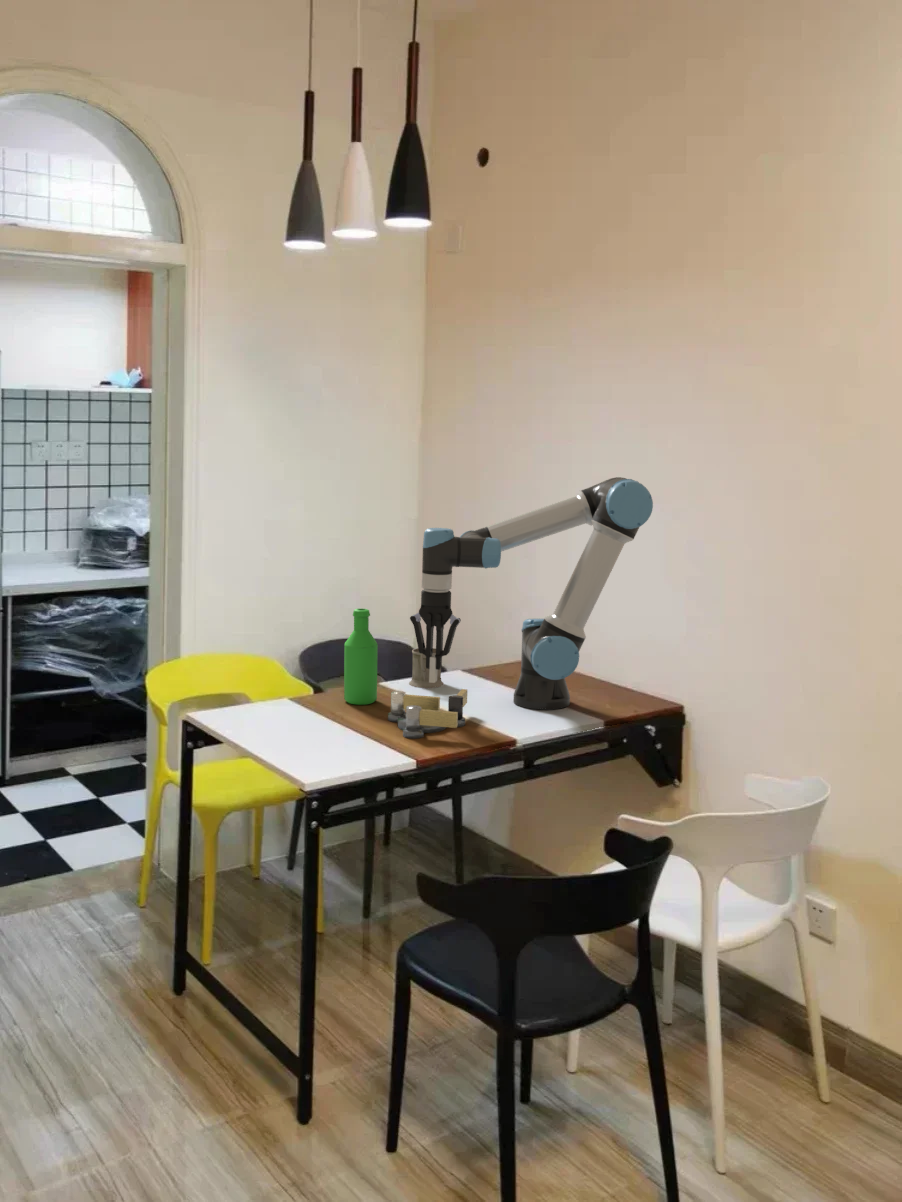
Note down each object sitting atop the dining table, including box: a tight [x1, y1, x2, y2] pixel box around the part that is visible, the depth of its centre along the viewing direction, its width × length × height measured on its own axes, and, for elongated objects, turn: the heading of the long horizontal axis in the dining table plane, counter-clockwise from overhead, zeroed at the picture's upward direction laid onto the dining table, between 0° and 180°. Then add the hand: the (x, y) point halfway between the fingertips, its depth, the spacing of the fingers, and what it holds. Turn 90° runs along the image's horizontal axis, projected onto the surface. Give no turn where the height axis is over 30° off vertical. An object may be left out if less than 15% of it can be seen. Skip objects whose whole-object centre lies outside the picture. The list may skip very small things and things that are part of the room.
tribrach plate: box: [387, 711, 466, 740], centre depth 277 cm, size 20×18×2 cm
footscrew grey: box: [405, 705, 458, 732], centre depth 270 cm, size 12×4×6 cm, turn 77°
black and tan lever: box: [447, 688, 468, 720], centre depth 285 cm, size 12×4×6 cm, turn 167°
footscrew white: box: [390, 690, 441, 716], centre depth 283 cm, size 12×4×6 cm, turn 77°
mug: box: [408, 646, 444, 689], centre depth 320 cm, size 14×10×12 cm
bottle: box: [343, 608, 379, 706], centre depth 300 cm, size 9×9×25 cm
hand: (433, 681), depth 288 cm, fingers closed
